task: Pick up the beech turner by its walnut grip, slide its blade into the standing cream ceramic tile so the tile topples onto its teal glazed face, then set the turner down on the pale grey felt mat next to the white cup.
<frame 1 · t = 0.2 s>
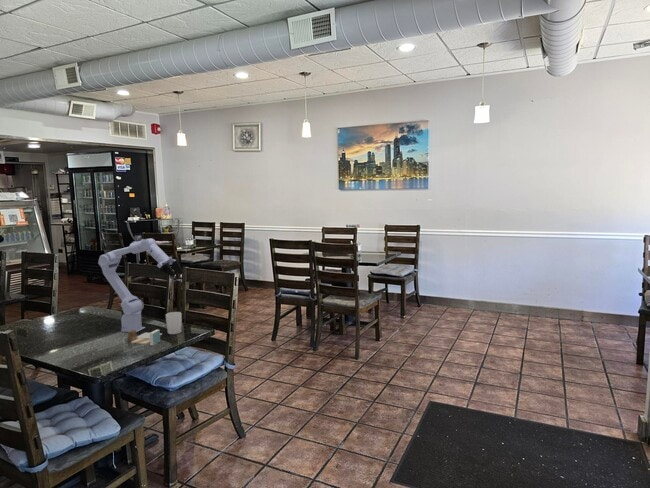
hand: (178, 274, 221), 31 cm above the table, tool tilted 45°, fingers open, 7 cm apart
felt mat: (149, 336, 220), on the table
white cup: (174, 332, 226), on the table
turner: (132, 341, 213), on the table
tile: (155, 343, 209), on the table
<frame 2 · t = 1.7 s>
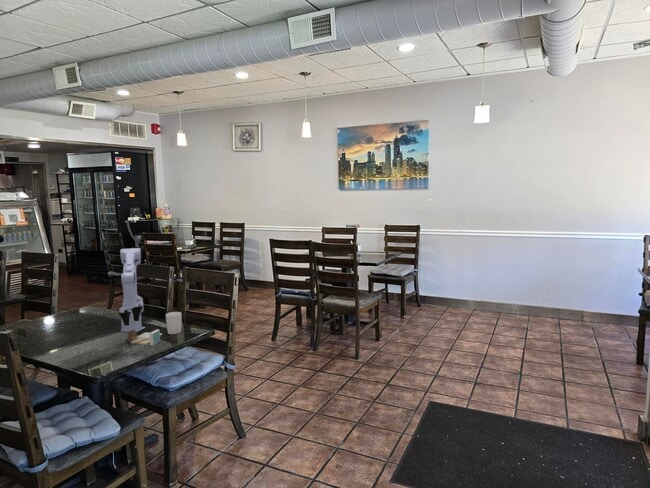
hand: (131, 323, 212), 9 cm above the table, tool pointing down, fingers open, 7 cm apart
nothing on the table moved.
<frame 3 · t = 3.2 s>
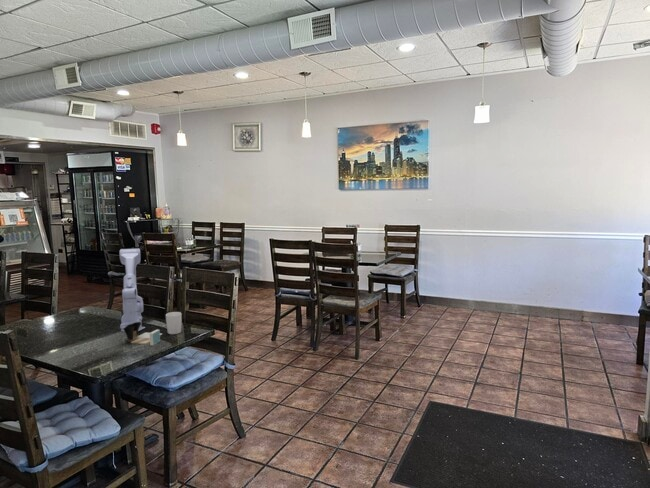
hand: (132, 338, 213), 1 cm above the table, tool pointing down, fingers closed on turner, 3 cm apart
turner: (132, 340, 213), on the table, touching gripper
everything else where it was.
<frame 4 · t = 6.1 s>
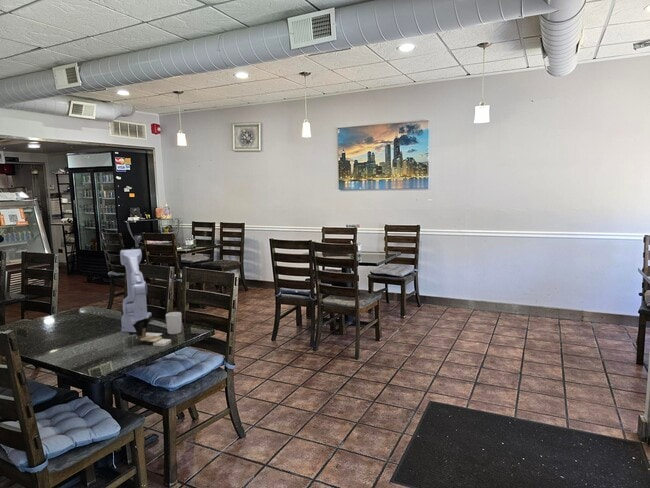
hand: (141, 334, 210), 4 cm above the table, tool pointing down, fingers closed on turner, 3 cm apart
turner: (141, 338, 211), point 2 cm above the table, touching gripper
tile: (156, 342, 209), on the table, tilted 90°
everything else where it was.
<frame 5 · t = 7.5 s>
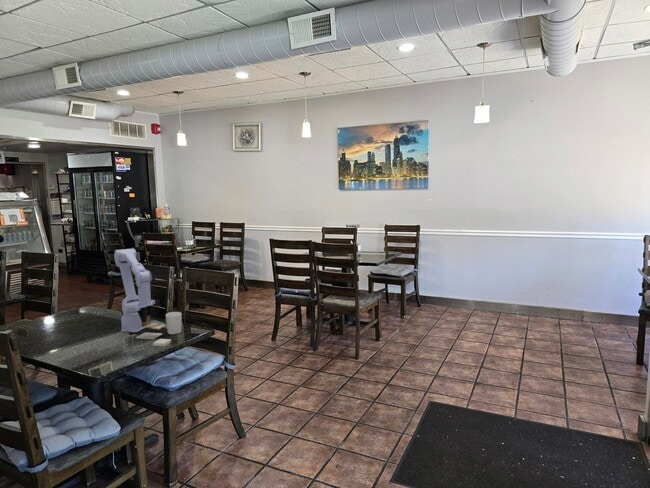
hand: (145, 321, 218), 8 cm above the table, tool pointing down, fingers closed on turner, 3 cm apart
turner: (145, 325, 218), point 6 cm above the table, touching gripper
everything else where it was.
when the fingers open (3 cm above the table, at t = 8.8 s): turner stays where it is, resting on felt mat.
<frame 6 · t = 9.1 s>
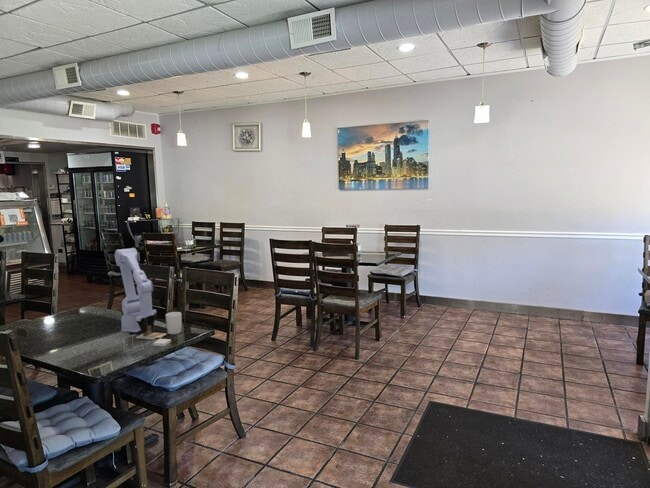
hand: (147, 330, 220), 3 cm above the table, tool pointing down, fingers open, 5 cm apart
turner: (147, 335, 220), resting on felt mat
everything else where it was.
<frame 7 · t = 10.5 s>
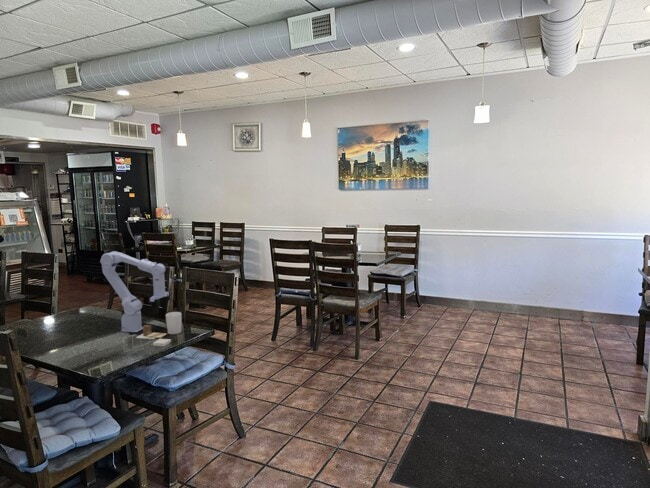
hand: (160, 311, 230), 10 cm above the table, tool pointing down, fingers open, 7 cm apart
nothing on the table moved.
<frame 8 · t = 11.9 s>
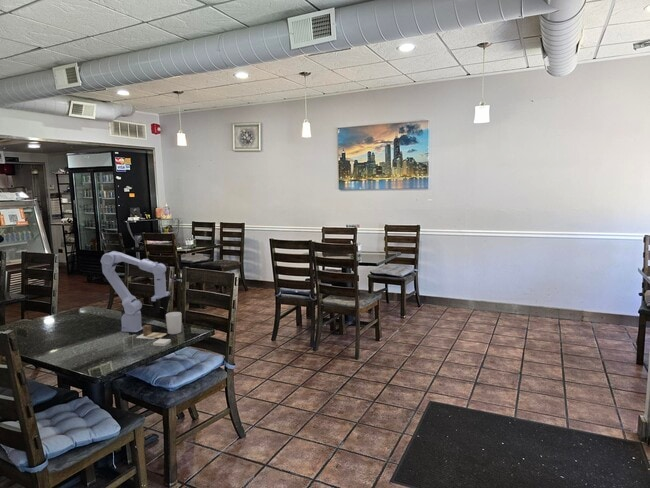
hand: (161, 311, 230), 10 cm above the table, tool pointing down, fingers open, 7 cm apart
nothing on the table moved.
at the end: tile tilted 90°; turner inside the target area on the felt mat (1.1 cm from its centre), point 0.4 cm above the felt mat's base; the gripper is holding nothing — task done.
